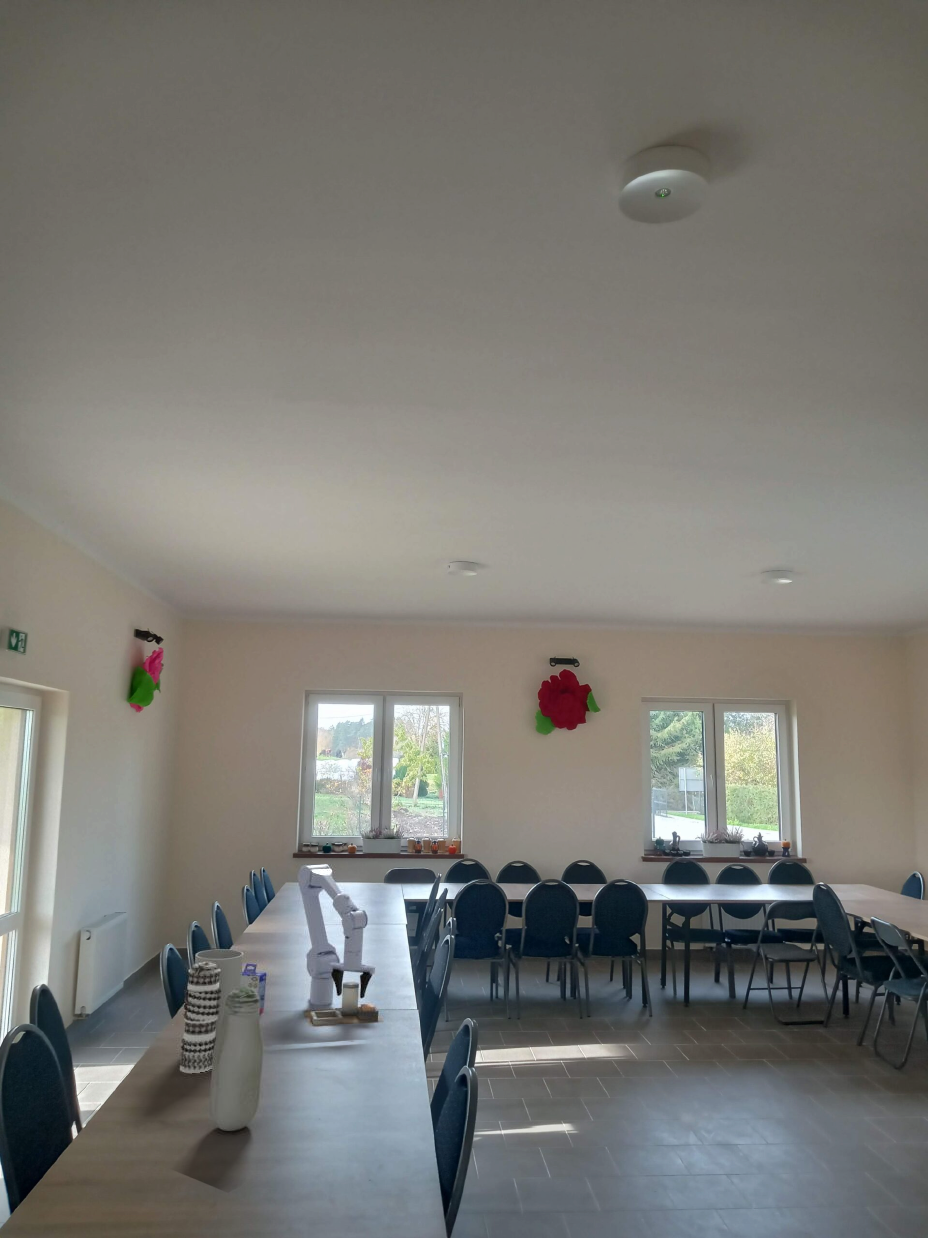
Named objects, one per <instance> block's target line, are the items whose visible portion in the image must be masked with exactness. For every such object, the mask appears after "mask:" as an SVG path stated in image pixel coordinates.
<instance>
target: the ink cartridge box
mask: <svg viewBox="0 0 928 1238" xmlns="http://www.w3.org/2000/svg"><path fill="white" fill-rule="evenodd" d="M257 966H258V964H254V963H246V964H245V966H244V970H242V978H241V988H244V987H250V988H252V989H254V990H256V991H257V993H258V995H259V998H260V1011H259V1014H260V1013H263V1012H264V1011H265V1000H266V998H265V997H266V984H267V972H262V971H261V972H260V971H256V969H257ZM248 967H252V968H248Z"/></svg>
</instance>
